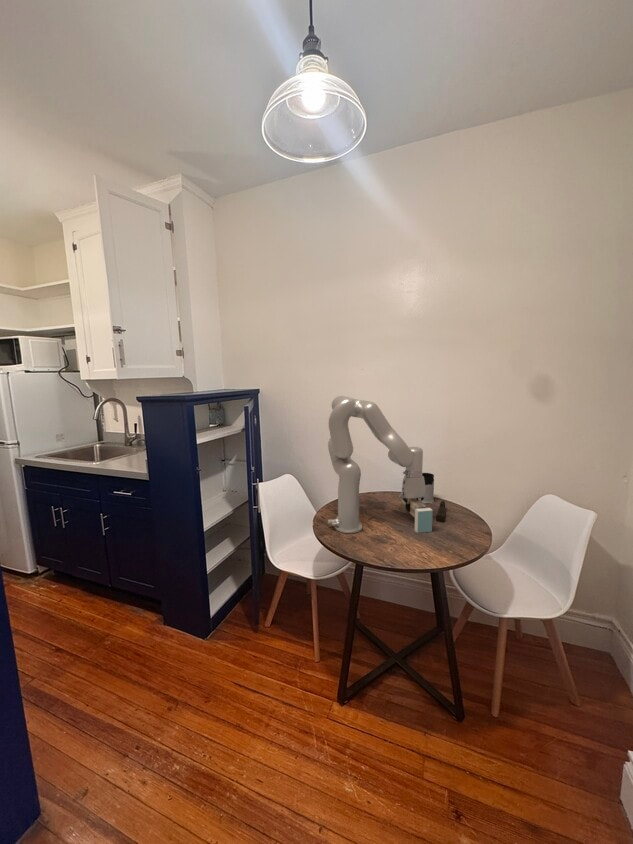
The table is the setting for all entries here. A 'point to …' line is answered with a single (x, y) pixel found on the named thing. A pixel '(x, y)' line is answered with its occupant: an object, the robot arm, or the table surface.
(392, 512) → the table surface
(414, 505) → the grey-capped beige stick
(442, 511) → the hand tool
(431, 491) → the glass holder
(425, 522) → the white and teal block
